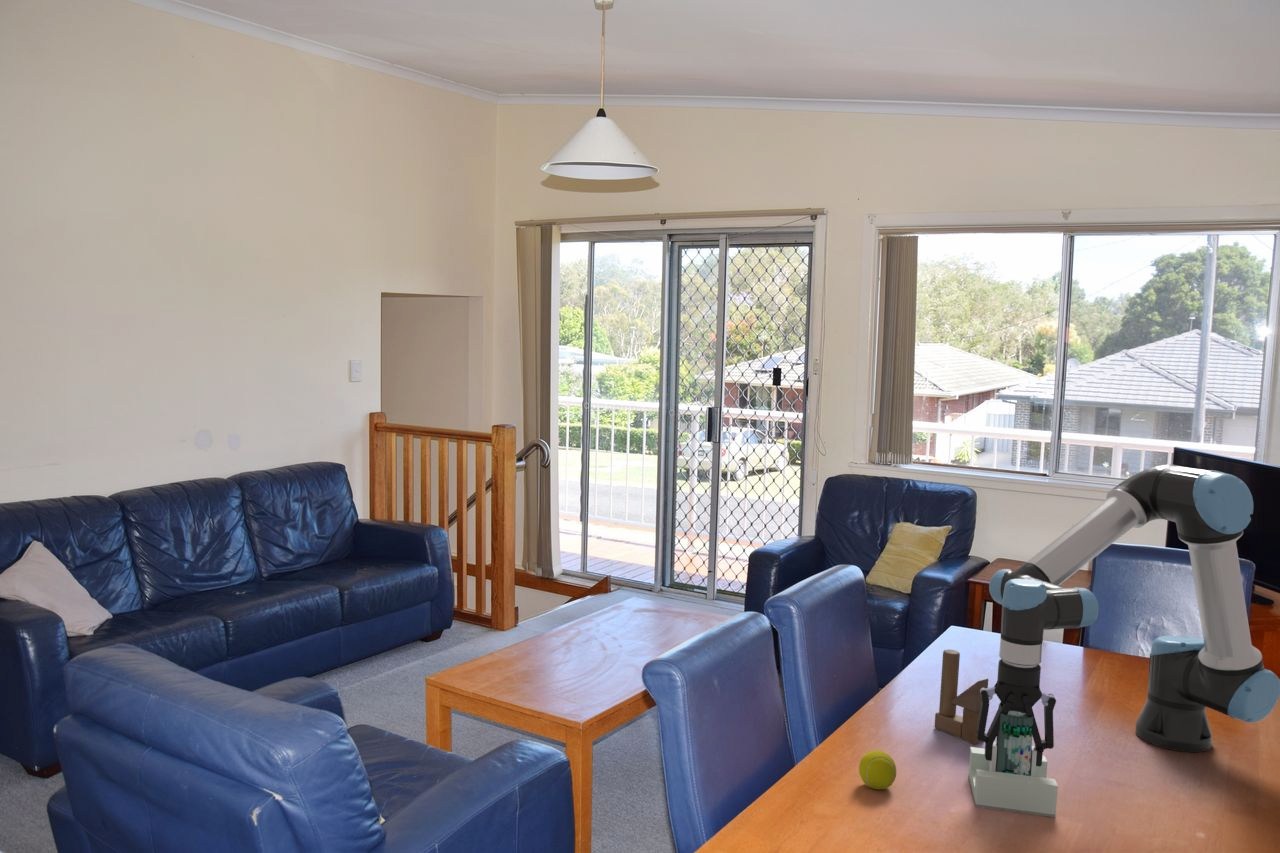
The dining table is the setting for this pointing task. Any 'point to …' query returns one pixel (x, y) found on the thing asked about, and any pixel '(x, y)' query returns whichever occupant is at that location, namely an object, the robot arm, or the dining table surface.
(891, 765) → the tennis ball
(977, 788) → the socket block
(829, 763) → the dining table surface
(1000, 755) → the can
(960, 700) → the wooden block
